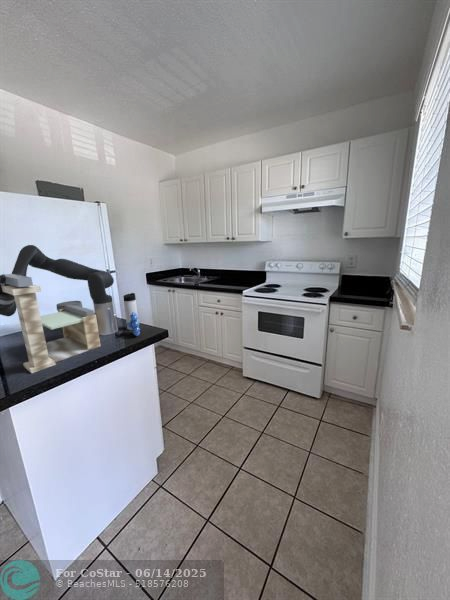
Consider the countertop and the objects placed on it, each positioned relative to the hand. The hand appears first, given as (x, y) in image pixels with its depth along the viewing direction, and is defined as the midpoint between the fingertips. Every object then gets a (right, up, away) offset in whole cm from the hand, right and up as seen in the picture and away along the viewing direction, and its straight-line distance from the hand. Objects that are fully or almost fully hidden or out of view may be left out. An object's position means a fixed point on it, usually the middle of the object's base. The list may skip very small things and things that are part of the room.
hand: (11, 275), depth 94 cm
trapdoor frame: (+9, -32, +20) cm, 38 cm away
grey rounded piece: (-5, -26, +46) cm, 53 cm away
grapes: (+36, -28, +32) cm, 56 cm away
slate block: (+3, -3, -1) cm, 5 cm away
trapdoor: (+9, -18, +17) cm, 26 cm away
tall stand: (+8, -36, +3) cm, 36 cm away
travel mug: (+32, -26, +43) cm, 59 cm away
